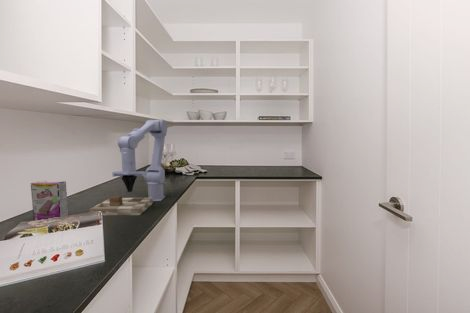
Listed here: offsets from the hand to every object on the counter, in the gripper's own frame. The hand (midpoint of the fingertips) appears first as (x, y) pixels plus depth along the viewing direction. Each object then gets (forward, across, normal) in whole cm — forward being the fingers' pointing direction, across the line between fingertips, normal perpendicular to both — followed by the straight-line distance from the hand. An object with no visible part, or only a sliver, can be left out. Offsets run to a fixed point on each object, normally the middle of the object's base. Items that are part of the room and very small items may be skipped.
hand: (130, 191), depth 108 cm
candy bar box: (+10, -29, -11) cm, 32 cm away
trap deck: (+9, -5, +3) cm, 11 cm away
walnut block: (+6, -7, 0) cm, 9 cm away
